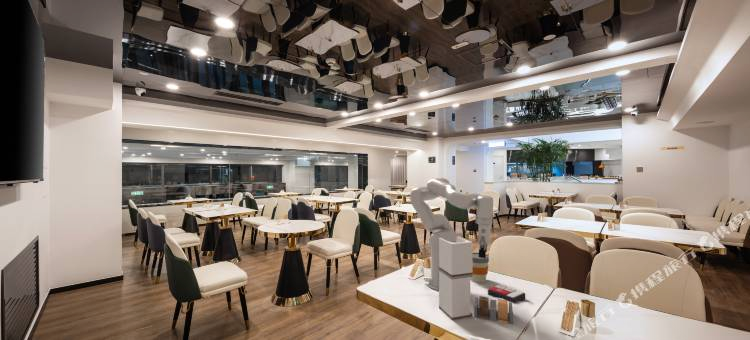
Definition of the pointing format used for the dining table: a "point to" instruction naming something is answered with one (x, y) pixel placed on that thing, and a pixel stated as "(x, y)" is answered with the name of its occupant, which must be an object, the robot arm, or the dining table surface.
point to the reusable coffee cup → (479, 268)
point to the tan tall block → (502, 309)
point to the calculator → (506, 293)
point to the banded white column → (455, 277)
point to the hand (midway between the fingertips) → (482, 254)
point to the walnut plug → (483, 306)
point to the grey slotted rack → (493, 312)
